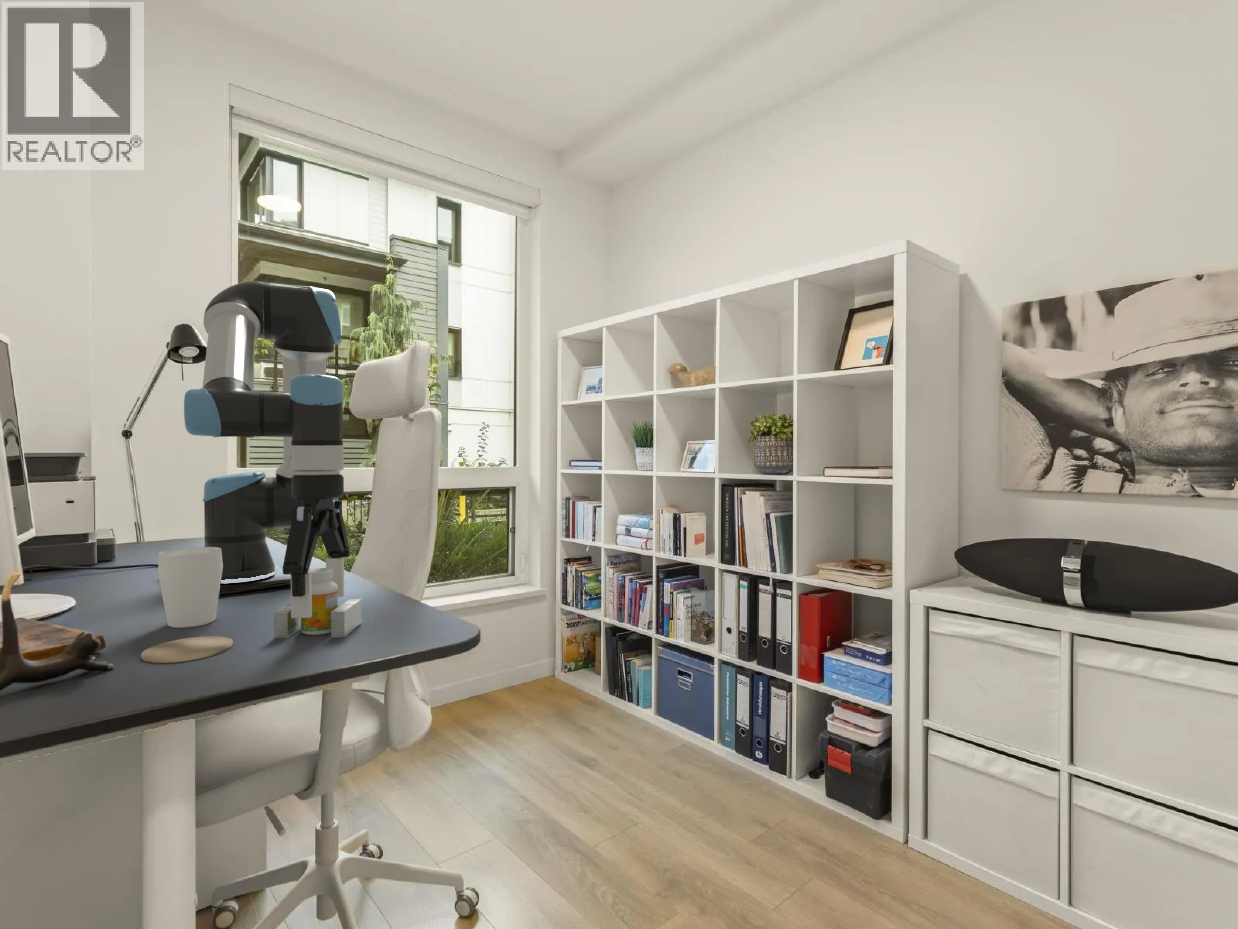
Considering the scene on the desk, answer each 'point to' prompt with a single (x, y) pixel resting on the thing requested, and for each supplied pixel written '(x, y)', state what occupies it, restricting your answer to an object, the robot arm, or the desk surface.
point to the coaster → (186, 649)
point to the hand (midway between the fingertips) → (319, 606)
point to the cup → (190, 585)
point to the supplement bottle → (321, 602)
